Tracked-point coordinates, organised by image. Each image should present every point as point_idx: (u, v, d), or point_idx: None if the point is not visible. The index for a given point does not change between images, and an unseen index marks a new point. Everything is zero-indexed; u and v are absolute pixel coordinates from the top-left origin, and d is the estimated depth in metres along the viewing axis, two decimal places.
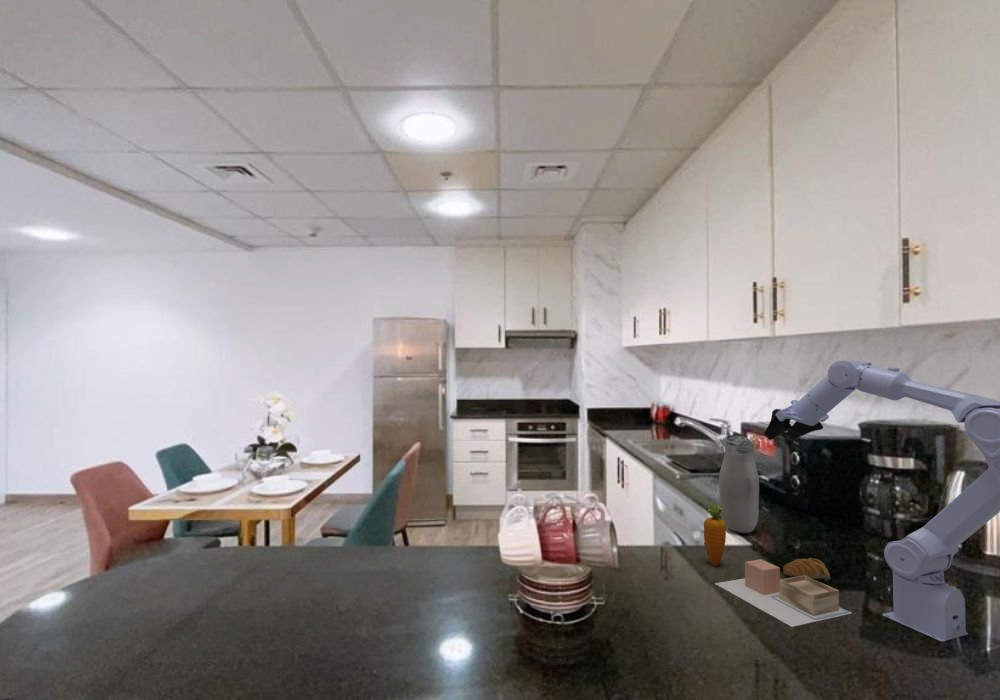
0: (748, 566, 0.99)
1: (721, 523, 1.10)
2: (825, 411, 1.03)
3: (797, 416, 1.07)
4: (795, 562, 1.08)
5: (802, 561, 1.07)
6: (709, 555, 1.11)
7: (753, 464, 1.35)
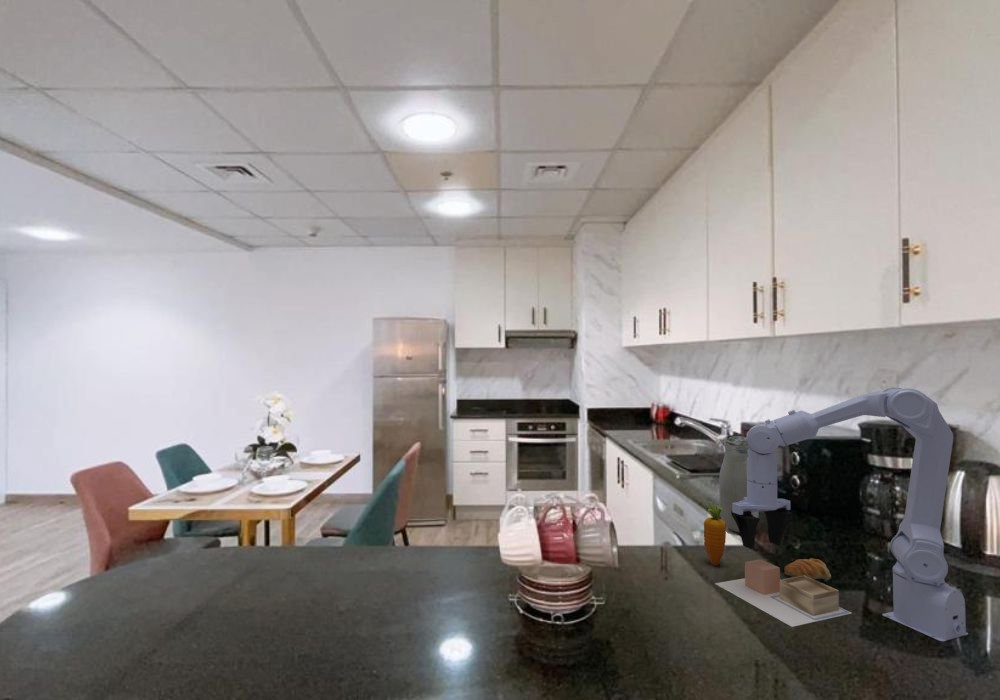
0: (748, 566, 0.99)
1: (721, 523, 1.10)
2: (771, 485, 0.97)
3: (754, 505, 0.98)
4: (796, 562, 1.07)
5: (803, 561, 1.07)
6: (709, 555, 1.11)
7: None
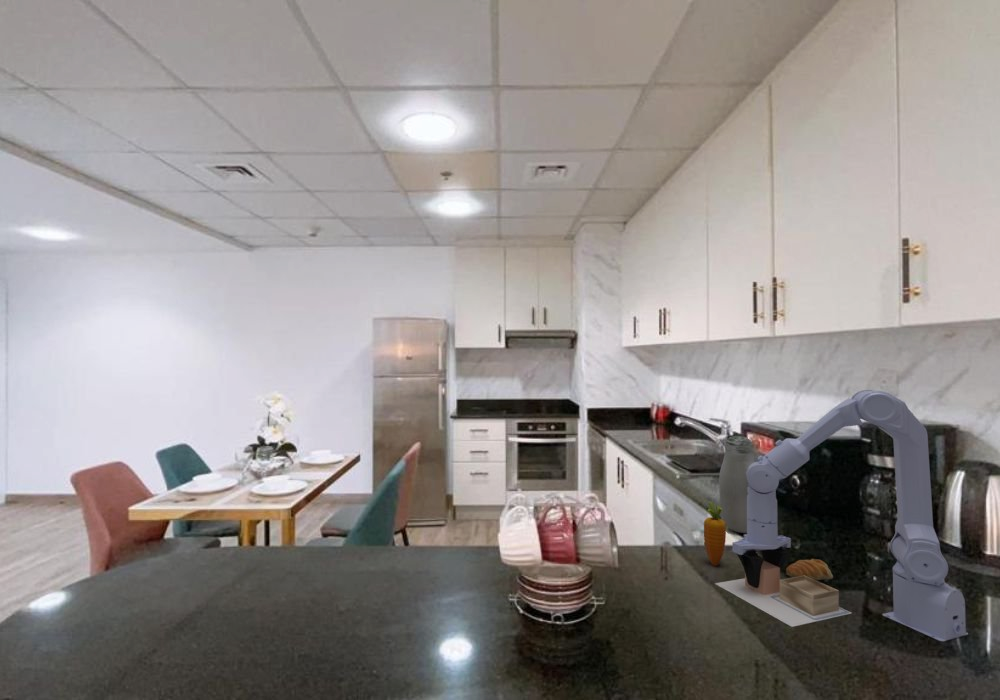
0: None
1: (721, 523, 1.10)
2: (771, 524, 0.97)
3: (754, 544, 0.97)
4: (798, 563, 1.07)
5: (805, 562, 1.07)
6: (709, 555, 1.11)
7: None
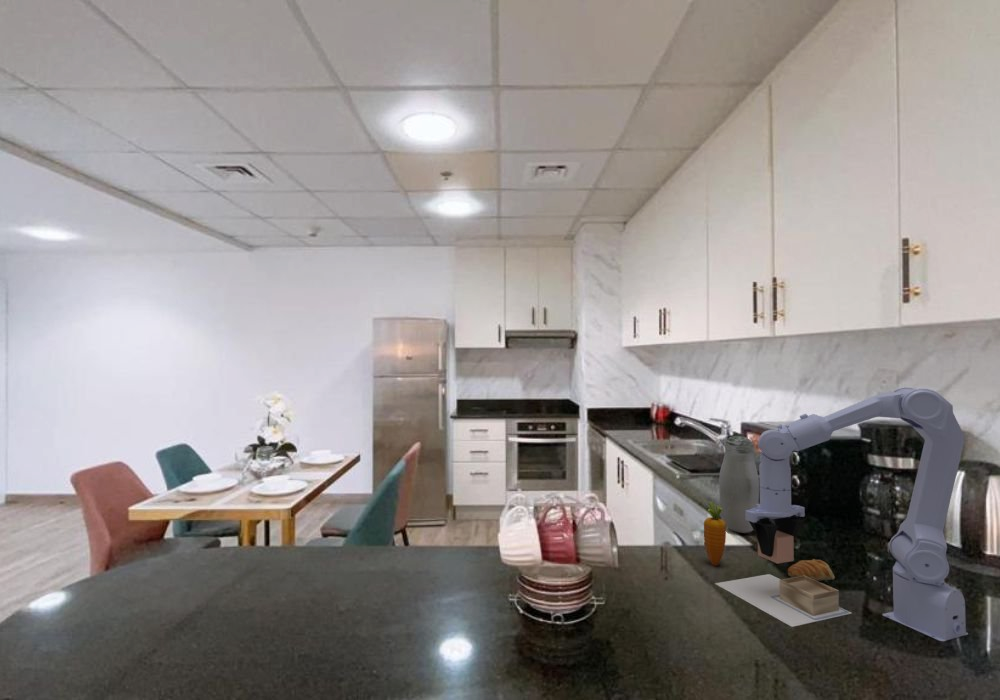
0: None
1: (721, 523, 1.10)
2: (785, 492, 0.95)
3: (768, 512, 0.96)
4: (800, 564, 1.07)
5: (807, 563, 1.07)
6: (709, 555, 1.11)
7: (753, 464, 1.35)
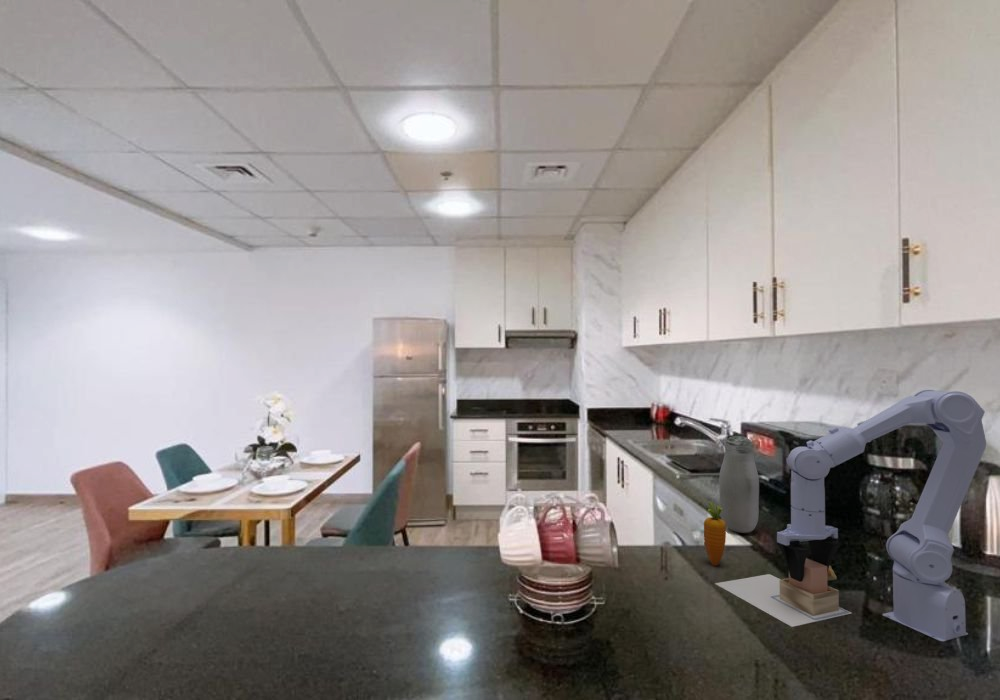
0: None
1: (721, 523, 1.10)
2: (819, 513, 0.90)
3: (800, 534, 0.91)
4: None
5: None
6: (709, 555, 1.11)
7: (753, 464, 1.35)
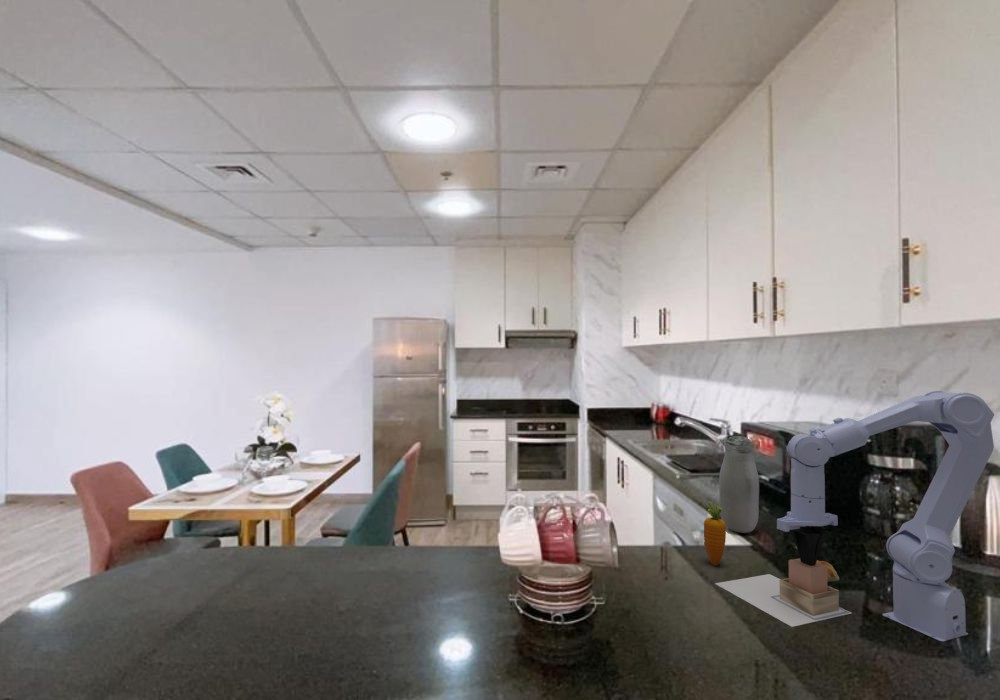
0: (792, 565, 0.93)
1: (721, 523, 1.10)
2: (819, 500, 0.91)
3: (800, 521, 0.91)
4: None
5: None
6: (709, 555, 1.11)
7: (753, 464, 1.35)
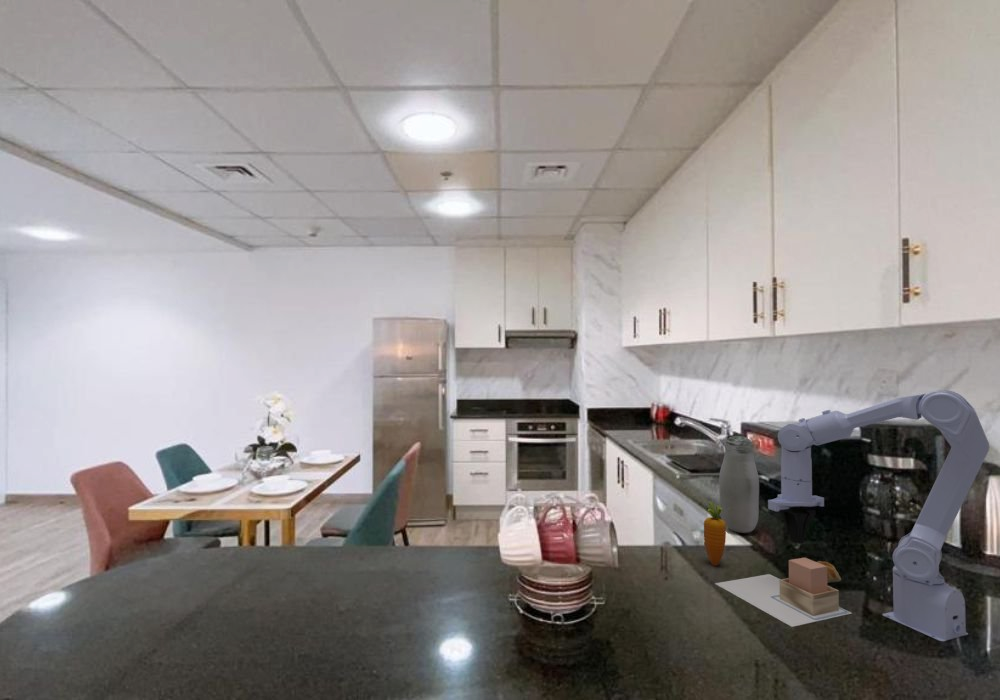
0: (792, 565, 0.93)
1: (721, 523, 1.10)
2: (807, 482, 0.99)
3: (789, 502, 1.00)
4: None
5: None
6: (709, 555, 1.11)
7: (753, 464, 1.35)
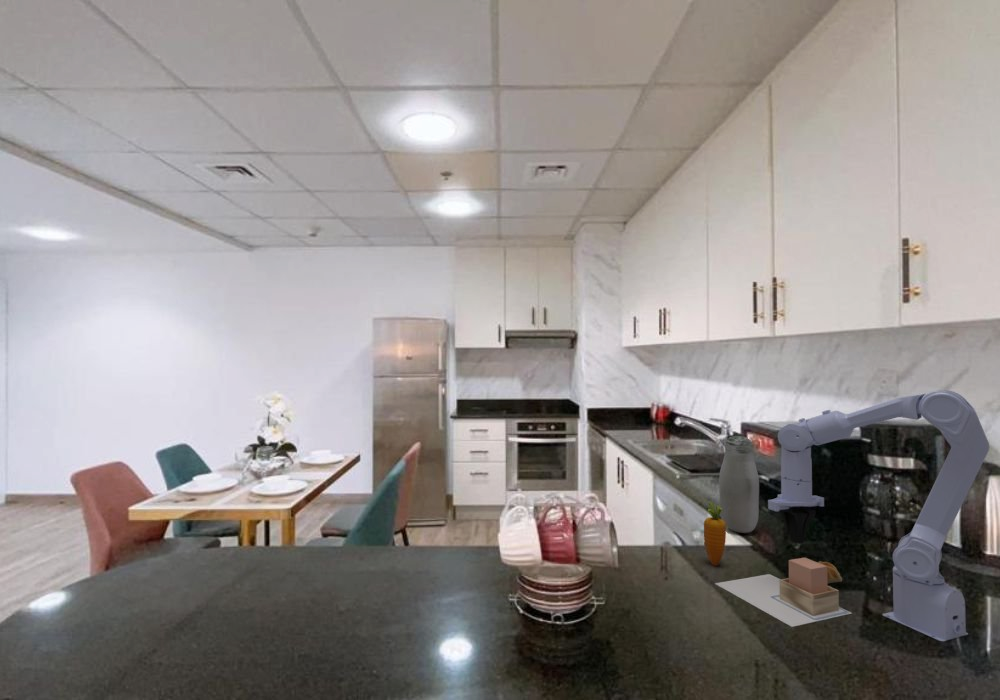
0: (792, 565, 0.93)
1: (721, 523, 1.10)
2: (807, 482, 0.99)
3: (789, 502, 1.00)
4: None
5: None
6: (709, 555, 1.11)
7: (753, 464, 1.35)
